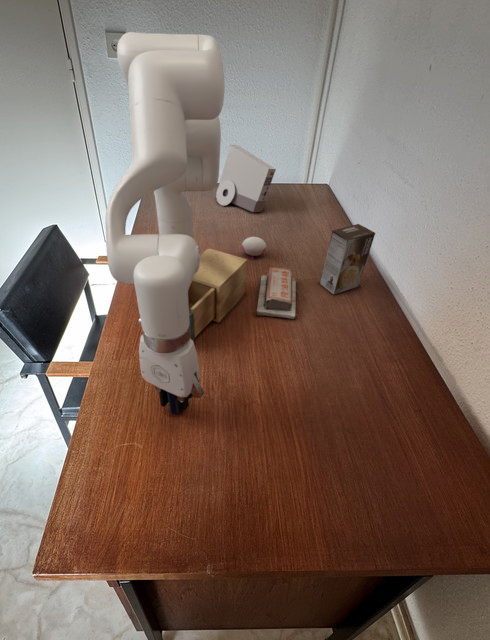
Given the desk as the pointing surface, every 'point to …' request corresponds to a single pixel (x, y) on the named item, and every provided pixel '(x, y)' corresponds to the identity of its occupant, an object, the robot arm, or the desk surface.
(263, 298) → the packaged product
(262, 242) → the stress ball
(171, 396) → the eraser
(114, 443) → the desk surface
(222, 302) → the cabinet
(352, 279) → the coffee box
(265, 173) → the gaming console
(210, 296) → the drawer
